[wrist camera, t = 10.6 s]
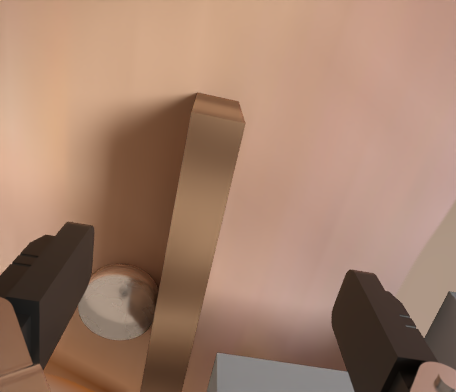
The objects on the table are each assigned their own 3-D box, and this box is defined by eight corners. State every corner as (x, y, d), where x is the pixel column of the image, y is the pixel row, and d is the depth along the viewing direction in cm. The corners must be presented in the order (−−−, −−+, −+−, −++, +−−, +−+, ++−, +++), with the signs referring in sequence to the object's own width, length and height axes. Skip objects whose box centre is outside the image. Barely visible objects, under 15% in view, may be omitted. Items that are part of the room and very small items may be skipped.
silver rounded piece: (81, 263, 27) (71, 281, 25) (154, 260, 27) (149, 277, 25) (94, 322, 28) (85, 342, 27) (162, 318, 29) (158, 338, 27)
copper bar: (197, 91, 22) (191, 111, 17) (238, 101, 23) (245, 123, 17) (153, 333, 29) (138, 404, 24) (184, 338, 29) (177, 409, 24)
